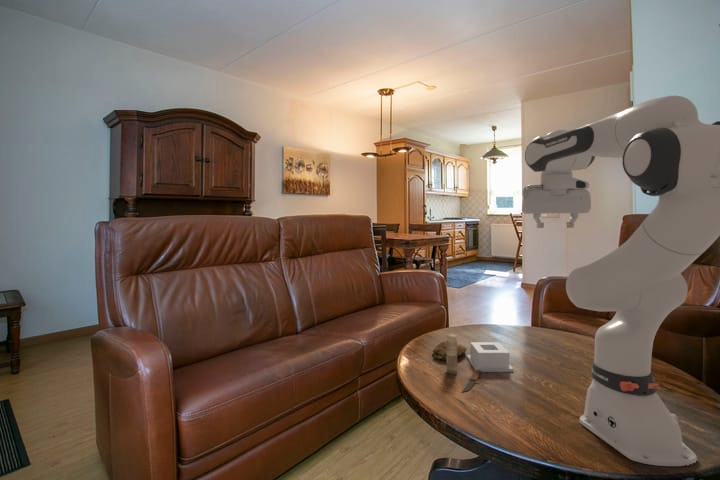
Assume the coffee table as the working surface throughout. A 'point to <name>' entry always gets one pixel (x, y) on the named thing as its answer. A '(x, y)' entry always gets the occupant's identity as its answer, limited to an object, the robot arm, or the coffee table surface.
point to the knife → (472, 380)
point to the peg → (451, 353)
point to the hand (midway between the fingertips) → (555, 227)
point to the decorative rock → (442, 350)
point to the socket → (489, 357)
